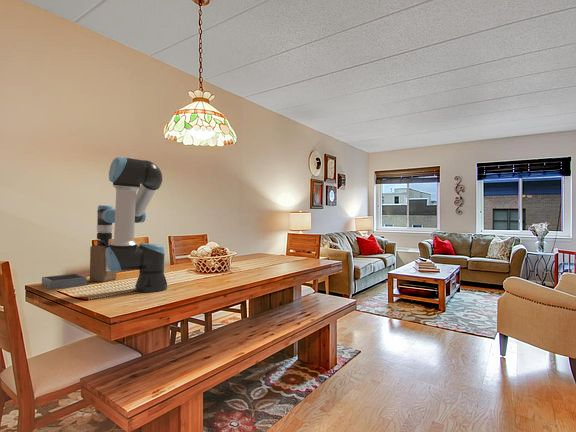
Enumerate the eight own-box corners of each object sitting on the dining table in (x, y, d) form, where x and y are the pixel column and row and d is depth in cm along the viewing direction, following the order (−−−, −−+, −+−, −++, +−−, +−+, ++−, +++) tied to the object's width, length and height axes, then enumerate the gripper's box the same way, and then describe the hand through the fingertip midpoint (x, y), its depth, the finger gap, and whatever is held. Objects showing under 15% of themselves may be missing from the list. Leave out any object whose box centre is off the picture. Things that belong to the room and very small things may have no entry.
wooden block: (103, 282, 181) (104, 246, 181) (88, 281, 183) (89, 245, 183) (117, 279, 191) (117, 245, 191) (102, 278, 193) (103, 244, 193)
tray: (86, 284, 174) (86, 277, 174) (50, 289, 162) (50, 281, 162) (76, 280, 185) (76, 273, 185) (41, 284, 172) (41, 277, 172)
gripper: (120, 233, 182) (119, 271, 182) (103, 231, 198) (102, 266, 198) (106, 233, 176) (105, 273, 176) (89, 231, 192) (88, 267, 193)
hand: (103, 269), depth 187 cm, fingers open, 13 cm apart
